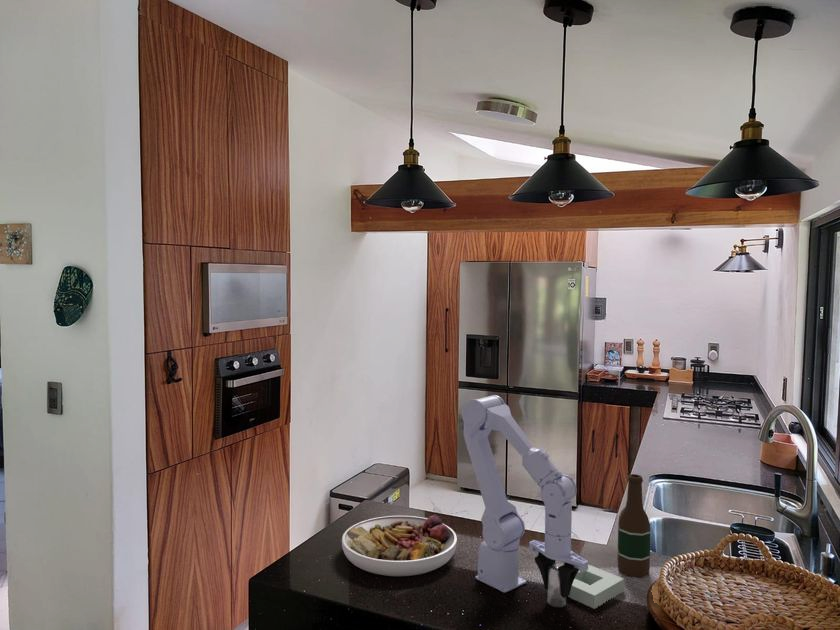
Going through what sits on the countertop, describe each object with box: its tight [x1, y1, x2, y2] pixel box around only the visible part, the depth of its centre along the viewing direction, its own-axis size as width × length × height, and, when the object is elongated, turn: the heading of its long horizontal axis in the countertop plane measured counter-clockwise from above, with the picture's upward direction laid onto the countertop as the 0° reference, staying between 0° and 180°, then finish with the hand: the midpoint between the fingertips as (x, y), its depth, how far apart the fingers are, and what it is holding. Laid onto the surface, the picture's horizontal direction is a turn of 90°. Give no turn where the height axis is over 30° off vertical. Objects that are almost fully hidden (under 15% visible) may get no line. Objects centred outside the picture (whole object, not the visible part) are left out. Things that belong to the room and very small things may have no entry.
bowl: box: [341, 514, 458, 577], centre depth 161 cm, size 30×30×8 cm
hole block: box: [568, 564, 625, 610], centre depth 142 cm, size 12×12×3 cm
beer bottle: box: [617, 473, 651, 579], centre depth 151 cm, size 8×8×24 cm
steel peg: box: [547, 562, 567, 608], centre depth 136 cm, size 4×4×8 cm
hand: (556, 591), depth 136 cm, fingers closed on steel peg, 4 cm apart
